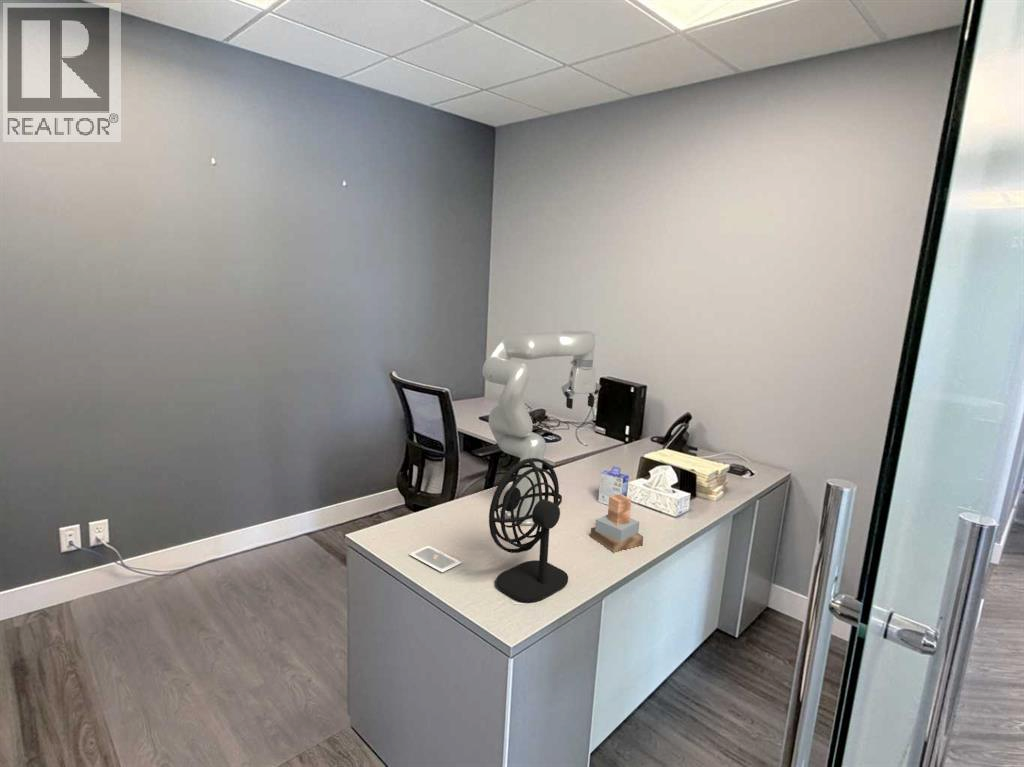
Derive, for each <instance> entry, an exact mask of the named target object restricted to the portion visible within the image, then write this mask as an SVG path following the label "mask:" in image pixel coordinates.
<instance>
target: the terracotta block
mask: <svg viewBox="0 0 1024 767" xmlns="http://www.w3.org/2000/svg"><path fill="white" fill-rule="evenodd" d="M631 507H632V498H629V497H628V496H627V497H626V496H624V495H622V494H620V495H614V496H609V505H608V509H607V515H608V520H609V521H611V522H612V523H614V524H615V525H622V524H627V523H629V521H630V518H631V509H632V508H631Z"/></svg>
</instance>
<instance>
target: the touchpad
mask: <svg viewBox="0 0 1024 767" xmlns="http://www.w3.org/2000/svg"><path fill="white" fill-rule="evenodd" d="M408 555H409V556H412V557H413V558H415V559H416V560H418V561H421V562H423V563H424V564H426V565H428V566H430V567H431V568H433V569H435V570H437V571H439V572H440V573H445V572H446V571H448V570H450V569H452V568H454V567H456V566H458V565H460V564H462V563H463V561H460V560H459V559H456V558H454V557H452V556H450V555H448V554H446V553H445V552H442V551H441V550H439V549H436V548H434V547H432V546H431V545H427V546H424V547H421V548H420V549H417V550H415V551H413V552H410V553H408Z"/></svg>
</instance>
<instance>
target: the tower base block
mask: <svg viewBox="0 0 1024 767" xmlns="http://www.w3.org/2000/svg"><path fill="white" fill-rule="evenodd" d="M595 527H596V526H593V527H591V528H590V538H591V539H593V541H595V542H596V541H597V542H596V543H598V544H599V543H600V544H599V545H601V546H602V545H603V546H604V547H603V546H602V547H603V548H604V549H606V548H607V549H606V550H608V551H609V550H610V551H611V553H612V552H613V553H612V554H616V553H615V552H617V553H620V552H619V551H621V552H623V551H622V550H625V551H628V550H627V549H629V550H632V549H631V548H633V549H636V548H635V547H637V548H640V547H639V546H641V547H643V544H644V536H643V535H642V534H640V533H638V534H636V535H634V536H632V537H630V538H628V539H626V540H624V541H622V542H619V541H617V540H614V539H612V538H610V537H607V536H605V535H603V534H601V533H598V532H596V531H595ZM610 551H609V552H610Z"/></svg>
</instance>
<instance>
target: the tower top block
mask: <svg viewBox="0 0 1024 767" xmlns="http://www.w3.org/2000/svg"><path fill="white" fill-rule="evenodd" d="M594 527H595V531H596V532H598V533H601V534H603V535H605V536H607V537H610V538H612V539H614V540H617V541H619V542H622V541H624V540H626V539H628V538H630V537H632V536H634V535H636V534H639V530H640V529H639V528H640V521H638V520H635V519H633V518H631V517H630V521H629V523H627V524H622V525H615V524H614V523H612V522H611V521H609V520H608V514H605V515H604V516H601V517H599V518H596V519H595V526H594Z"/></svg>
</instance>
